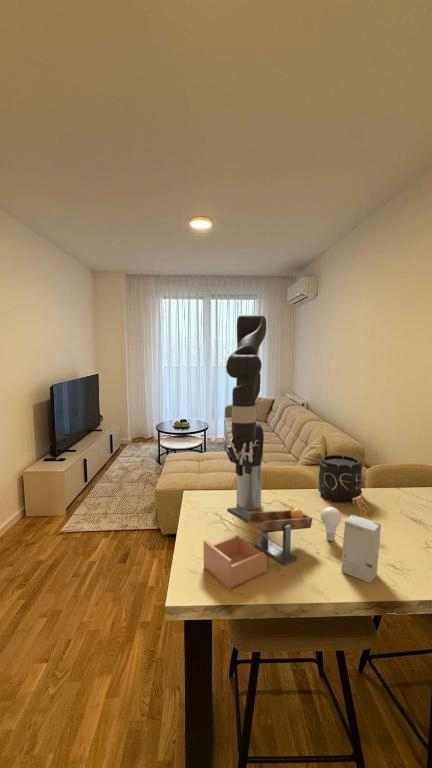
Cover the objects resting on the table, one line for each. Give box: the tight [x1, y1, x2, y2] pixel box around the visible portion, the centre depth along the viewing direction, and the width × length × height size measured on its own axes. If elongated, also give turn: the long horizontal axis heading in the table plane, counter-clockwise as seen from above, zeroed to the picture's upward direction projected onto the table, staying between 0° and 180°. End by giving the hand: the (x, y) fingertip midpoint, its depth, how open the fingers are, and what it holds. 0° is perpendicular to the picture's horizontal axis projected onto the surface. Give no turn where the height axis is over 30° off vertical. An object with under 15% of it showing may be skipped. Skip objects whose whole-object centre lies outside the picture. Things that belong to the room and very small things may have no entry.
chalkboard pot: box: [317, 454, 364, 504], centre depth 153 cm, size 18×18×16 cm
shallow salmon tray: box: [203, 535, 268, 591], centre depth 101 cm, size 12×13×8 cm
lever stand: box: [254, 524, 298, 567], centre depth 110 cm, size 5×13×10 cm, turn 35°
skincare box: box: [340, 514, 382, 584], centre depth 99 cm, size 8×6×15 cm
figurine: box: [352, 494, 372, 521], centre depth 125 cm, size 8×6×12 cm
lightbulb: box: [320, 506, 342, 542], centre depth 117 cm, size 6×6×11 cm
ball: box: [291, 507, 304, 519], centre depth 115 cm, size 4×4×4 cm
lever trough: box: [226, 506, 313, 534], centre depth 114 cm, size 20×18×3 cm
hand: (243, 474), depth 113 cm, fingers open, 2 cm apart
